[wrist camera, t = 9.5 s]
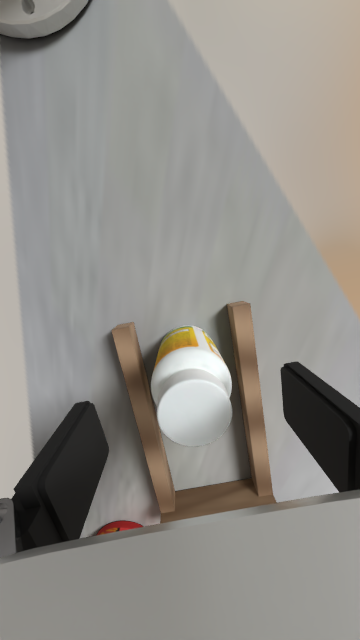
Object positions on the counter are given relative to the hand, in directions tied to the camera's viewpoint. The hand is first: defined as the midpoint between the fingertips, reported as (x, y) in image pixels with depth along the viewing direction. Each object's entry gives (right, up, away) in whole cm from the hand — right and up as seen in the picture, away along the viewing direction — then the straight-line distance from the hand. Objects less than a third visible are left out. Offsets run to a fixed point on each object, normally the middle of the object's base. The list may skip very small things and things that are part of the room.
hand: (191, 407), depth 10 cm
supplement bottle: (0, +1, +10) cm, 10 cm away
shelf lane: (+1, -6, +11) cm, 13 cm away
